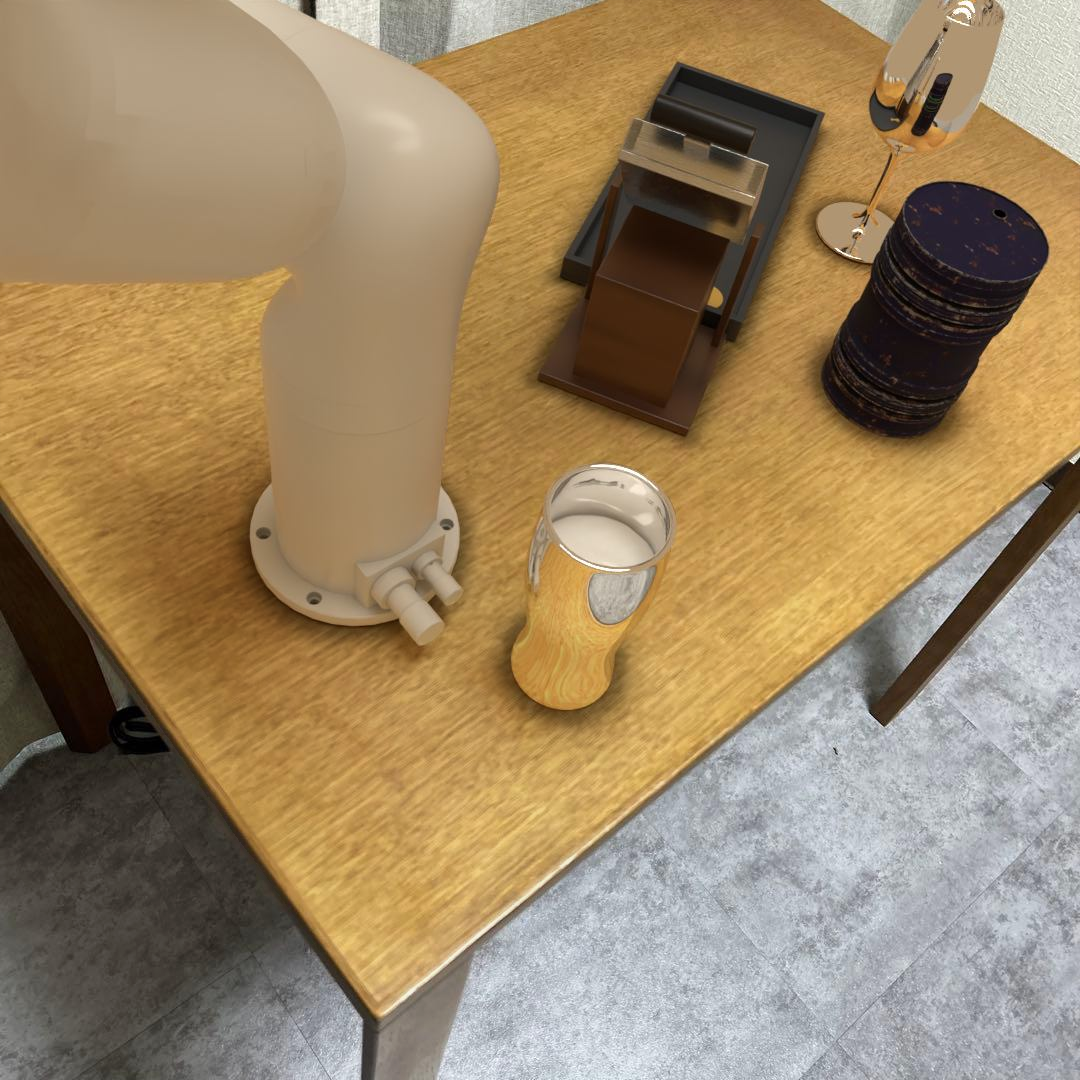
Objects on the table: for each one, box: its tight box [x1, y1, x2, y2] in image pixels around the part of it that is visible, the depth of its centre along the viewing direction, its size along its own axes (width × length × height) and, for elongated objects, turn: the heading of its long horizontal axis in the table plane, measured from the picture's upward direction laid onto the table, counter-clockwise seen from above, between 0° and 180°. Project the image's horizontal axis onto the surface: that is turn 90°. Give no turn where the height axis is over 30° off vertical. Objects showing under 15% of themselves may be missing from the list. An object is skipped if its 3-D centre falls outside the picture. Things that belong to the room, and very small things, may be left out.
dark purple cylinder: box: [820, 180, 1050, 439], centre depth 77 cm, size 10×10×15 cm
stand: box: [537, 172, 765, 437], centre depth 76 cm, size 10×11×11 cm
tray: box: [559, 61, 826, 343], centre depth 92 cm, size 30×14×2 cm, turn 159°
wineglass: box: [815, 0, 1006, 265], centre depth 85 cm, size 8×8×20 cm
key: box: [707, 287, 723, 309], centre depth 85 cm, size 7×3×1 cm, turn 5°
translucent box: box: [617, 92, 769, 245], centre depth 70 cm, size 14×9×4 cm
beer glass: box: [510, 461, 678, 711], centre depth 59 cm, size 7×7×15 cm
